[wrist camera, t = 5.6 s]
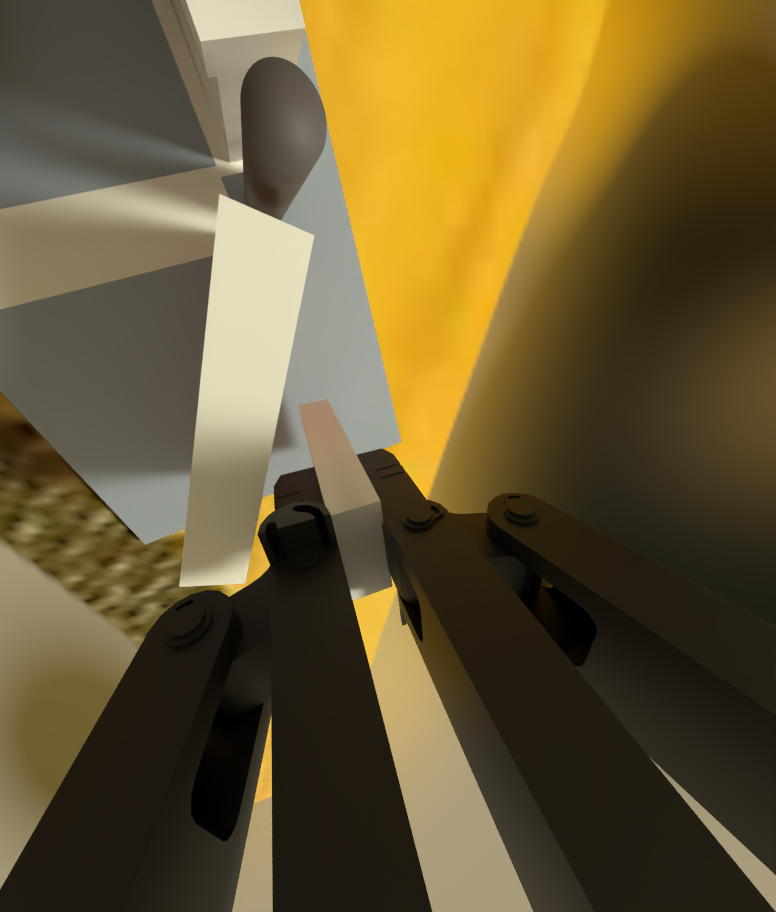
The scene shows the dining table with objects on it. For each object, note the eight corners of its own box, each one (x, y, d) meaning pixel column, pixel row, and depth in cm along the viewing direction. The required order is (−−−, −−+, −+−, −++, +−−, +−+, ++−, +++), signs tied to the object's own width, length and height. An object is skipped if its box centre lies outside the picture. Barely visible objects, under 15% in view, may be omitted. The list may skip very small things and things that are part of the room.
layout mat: (-928, -613, 4) (-1019, -682, 3) (188, -449, 6) (185, -482, 6) (147, 539, 14) (145, 544, 14) (399, 439, 16) (401, 441, 16)
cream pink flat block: (233, 234, 10) (219, 194, 5) (283, 253, 11) (314, 235, 6) (205, 468, 13) (179, 586, 8) (245, 472, 14) (244, 583, 9)
